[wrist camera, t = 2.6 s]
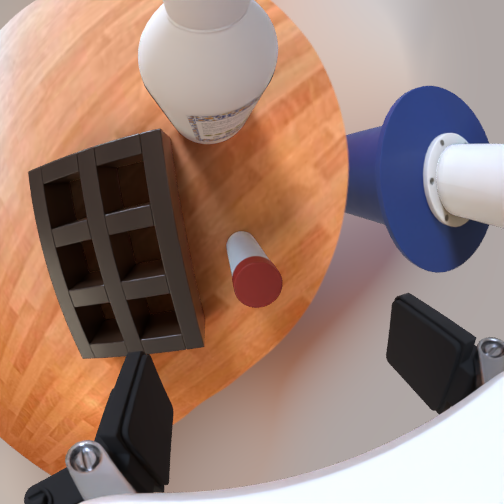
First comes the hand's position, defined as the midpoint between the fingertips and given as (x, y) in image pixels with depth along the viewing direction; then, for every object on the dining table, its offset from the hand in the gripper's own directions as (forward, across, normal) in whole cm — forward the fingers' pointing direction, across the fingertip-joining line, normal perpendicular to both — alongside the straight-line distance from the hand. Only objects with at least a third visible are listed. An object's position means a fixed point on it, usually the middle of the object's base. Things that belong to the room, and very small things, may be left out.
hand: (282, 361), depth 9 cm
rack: (+17, +10, -2) cm, 20 cm away
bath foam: (+17, 0, -13) cm, 22 cm away
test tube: (+17, 0, 0) cm, 17 cm away
